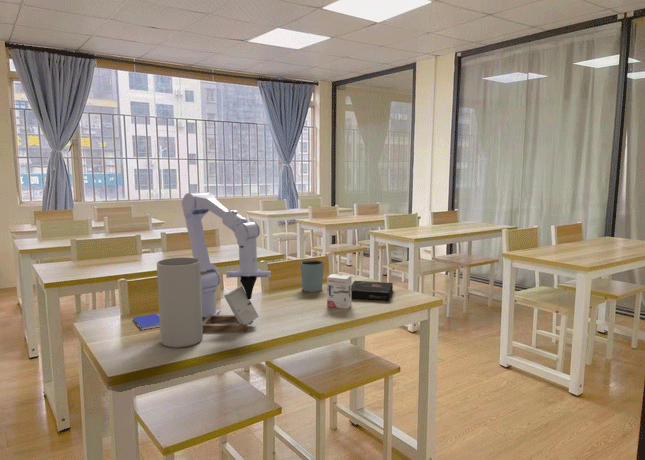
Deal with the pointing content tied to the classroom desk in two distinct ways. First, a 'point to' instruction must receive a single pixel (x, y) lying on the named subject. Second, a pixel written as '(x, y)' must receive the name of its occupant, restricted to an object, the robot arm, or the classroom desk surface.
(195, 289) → the cylinder vase
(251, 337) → the classroom desk surface
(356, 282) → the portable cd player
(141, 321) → the hard drive
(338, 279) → the ink box
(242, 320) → the skincare box
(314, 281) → the teal cup
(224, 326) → the u rest
